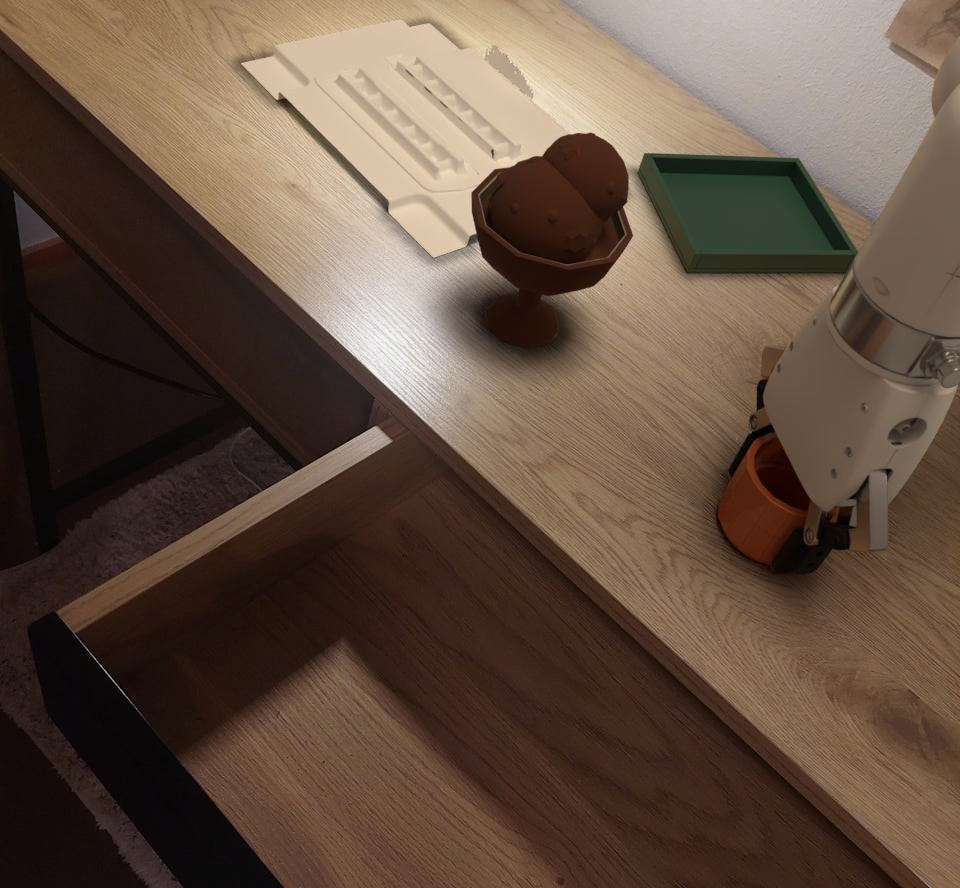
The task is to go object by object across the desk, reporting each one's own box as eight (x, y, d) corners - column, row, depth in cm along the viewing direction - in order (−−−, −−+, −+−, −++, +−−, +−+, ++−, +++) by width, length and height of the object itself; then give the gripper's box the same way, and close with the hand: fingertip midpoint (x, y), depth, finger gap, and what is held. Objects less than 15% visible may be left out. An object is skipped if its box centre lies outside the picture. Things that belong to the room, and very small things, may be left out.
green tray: (790, 176, 97) (799, 157, 96) (849, 272, 90) (860, 254, 88) (637, 171, 93) (644, 152, 91) (686, 272, 86) (695, 253, 84)
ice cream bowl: (518, 254, 83) (566, 72, 71) (622, 338, 79) (692, 162, 68) (418, 303, 77) (452, 115, 66) (526, 397, 74) (583, 216, 62)
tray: (434, 259, 81) (441, 216, 78) (238, 75, 92) (238, 32, 89) (624, 192, 91) (636, 152, 88) (426, 33, 102) (431, -7, 99)
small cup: (791, 483, 74) (826, 429, 70) (832, 565, 70) (872, 513, 66) (700, 488, 72) (731, 433, 68) (737, 573, 68) (771, 521, 64)
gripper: (1045, 435, 53) (873, 626, 67) (893, 212, 62) (770, 421, 76) (917, 442, 51) (767, 637, 65) (780, 210, 60) (675, 425, 74)
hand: (770, 519), depth 70 cm, fingers closed on small cup, 7 cm apart
